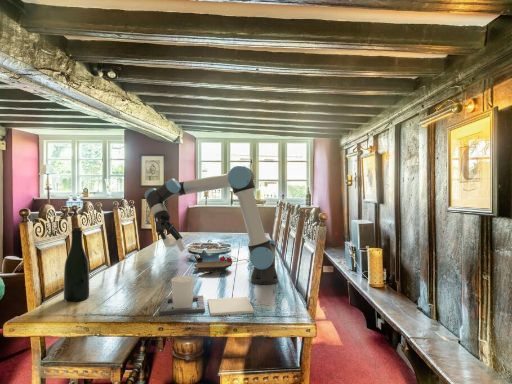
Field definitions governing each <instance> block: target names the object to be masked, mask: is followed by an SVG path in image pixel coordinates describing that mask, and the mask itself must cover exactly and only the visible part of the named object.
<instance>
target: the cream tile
mask: <svg viewBox="0 0 512 384" xmlns="http://www.w3.org/2000/svg"><path fill="white" fill-rule="evenodd" d="M207 304H208V305H207V306H208V311H209V315H210V316H226V315H227V316H228V315H239V314H240V315H241V314H243V315H244V314H255V310H254V307H253V306H252V304H251V302H250V300H249V299H248V296H239V297H223V298H221V297H220V298H219V297H218V298H207Z"/></svg>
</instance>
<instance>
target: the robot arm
mask: <svg viewBox="0 0 512 384" xmlns="http://www.w3.org/2000/svg"><path fill="white" fill-rule="evenodd" d="M254 178H255V175H254V173H253V171H252V169H250V168H249V167H247V166H246V165H241V164H239V165H235V166H233V167H232V168H230V170H229V171H228V172H227V173H225V174H224V173H223V174H219V175H213V176H207V177H202V178H196V179H190V180H189V179H188V180H184V181H178V180H177V179H176V178H174V177H173V178H170V179H169V180H167V181H166V182H165V183H163V184H162V185H160V186H159V187H158V188H157V189H156V188H150V189H147V190H146V191H145V193H144V198H145V201H146V203H147V205H148V208H149V210H150V211H151V212H150V213H151V215H152V217H153V219H154V222H155V232H156V233H157V236H160V237H161V240H162V242H163V244H164V247H168V246H170V244H171V241H170V239H169V236H168V235H167V233H166V232H168V233H169V234H170V235H171V236H172V238H174V239H175V243H176V245H177V247H178V249H179V251H180V252H183V251H184V250H186V247H185V245H184V242H183V240H182V239H183V236H182V235H181V234H180V232H179V231H178V229H177V228H176V227H175V225H174V223H172V222H170V219H171V217H170V214H169V211H168V209H167V207H166V206H165V203H164V202H166V201H167V200H168V199H170V198H172V197H181V196H184V195H190V194H196V193H203V192H208V191H213V190H215V191H216V190H220V189H225V188H227V189H228V188H230V189H232V193H233V195H234V196H236V197H237V201H238V203H239V207H240V211H241V215H242V218H243V221H244V226H245V230H246V232H247V233H246V234H247V236H248V239H249V242H248V244H247V247H248V252H249V262H250V264H251V265H252V266H253V270H252V272H251V276H250V282H252V283H253V284H256V285H273V284H276V283H278V282H279V276H278V272H277V270H276V241H275V240H274V239H270V238H268V237H267V236H266V233H265V229H264V226H263V222H262V218H261V216H260V211H259V207H258V204H257V201H256V196H255V194H254V191H255V189H256V186H255V182H254ZM165 230H166V231H165Z"/></svg>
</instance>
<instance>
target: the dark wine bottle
mask: <svg viewBox="0 0 512 384" xmlns="http://www.w3.org/2000/svg"><path fill="white" fill-rule="evenodd" d="M70 232H71V241H70V242H71V243H70V248H69V252H68V255H67V257H66V258H65V259H66V260H65V262H64V270H63V300H64V301H66V302H71V303H73V302H80V301H84V300H87V299H88V298H89V297H90V267H89V266H90V264H89V259H88V257H87V254H86V252H85V250H84V246H83V229H82V227H81V226H73V227H72V230H71V231H70Z"/></svg>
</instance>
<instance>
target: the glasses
mask: <svg viewBox="0 0 512 384" xmlns="http://www.w3.org/2000/svg"><path fill="white" fill-rule="evenodd" d="M233 258H234V259H235V260H233ZM233 258H232V257H231V256H225V255H222V256H220V257H219V258H218V260H219V261H226V262H230V263H231V266H232V265H233V263H235V262H239V261H240V262H241V261H242V259H240V260H239V259H237V258H236V257H235V256H233ZM243 261H247V262H248V263H249V262H250V260H248V259H245V258H244V259H243Z"/></svg>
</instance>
